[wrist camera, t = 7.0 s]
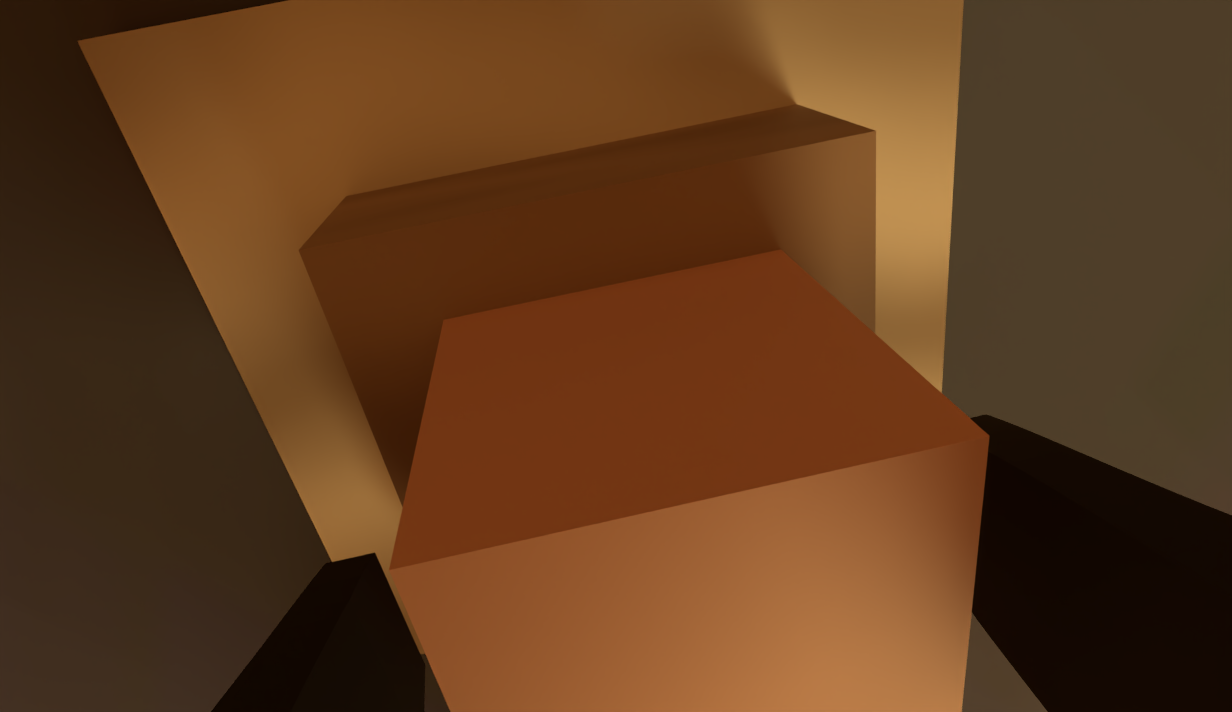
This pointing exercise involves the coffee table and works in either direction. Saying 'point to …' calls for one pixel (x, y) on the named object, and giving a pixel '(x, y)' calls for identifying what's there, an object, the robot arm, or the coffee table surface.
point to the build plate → (491, 157)
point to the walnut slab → (583, 239)
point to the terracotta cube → (689, 505)
